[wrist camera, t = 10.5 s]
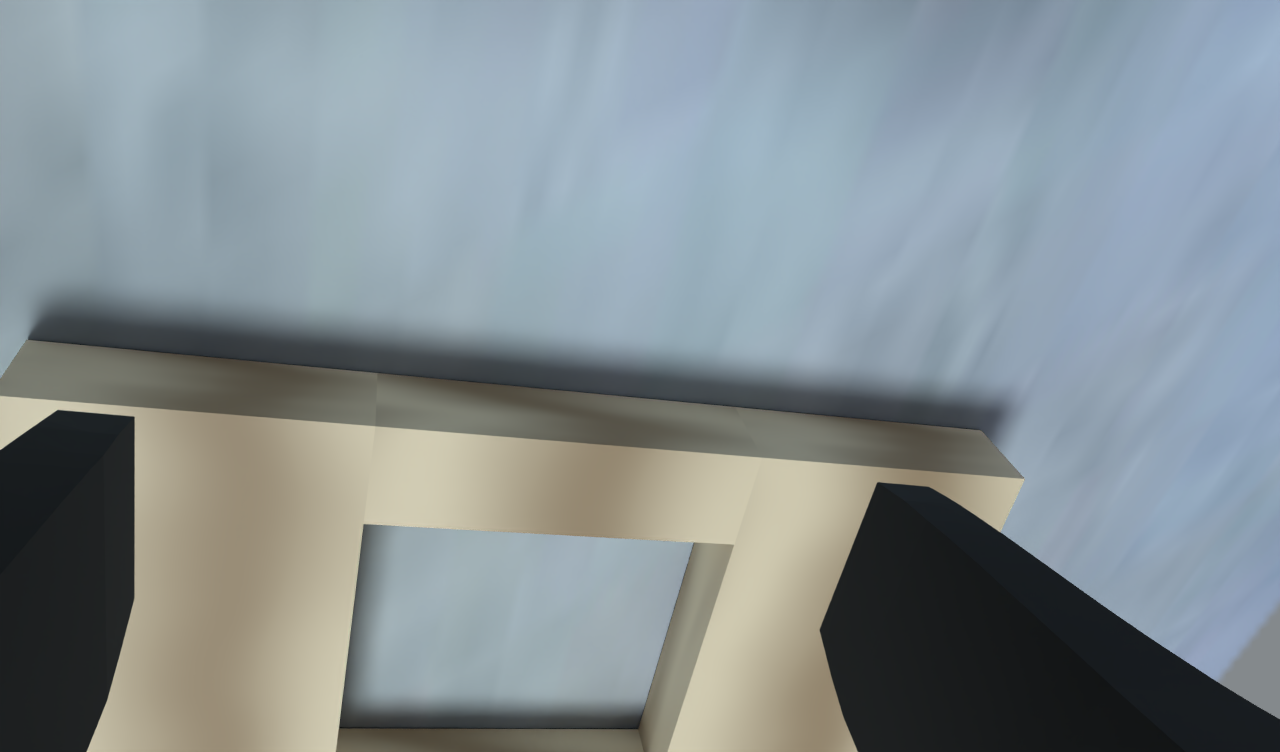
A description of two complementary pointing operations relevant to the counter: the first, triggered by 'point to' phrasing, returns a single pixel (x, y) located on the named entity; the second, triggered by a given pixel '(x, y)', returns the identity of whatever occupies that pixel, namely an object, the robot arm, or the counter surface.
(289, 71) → the counter surface
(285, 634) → the socket board
